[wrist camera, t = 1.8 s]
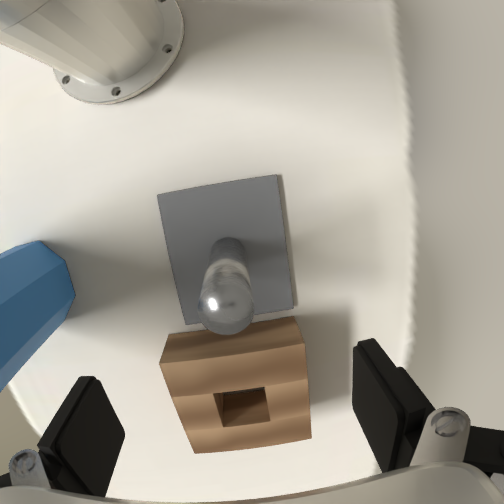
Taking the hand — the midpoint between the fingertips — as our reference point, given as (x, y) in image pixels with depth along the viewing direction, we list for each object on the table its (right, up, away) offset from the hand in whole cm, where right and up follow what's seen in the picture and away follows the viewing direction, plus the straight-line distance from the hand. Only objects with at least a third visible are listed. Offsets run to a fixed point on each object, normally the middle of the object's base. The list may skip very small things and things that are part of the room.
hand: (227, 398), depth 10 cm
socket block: (0, -8, +21) cm, 22 cm away
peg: (-1, +5, +17) cm, 18 cm away
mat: (-1, +5, +17) cm, 18 cm away
